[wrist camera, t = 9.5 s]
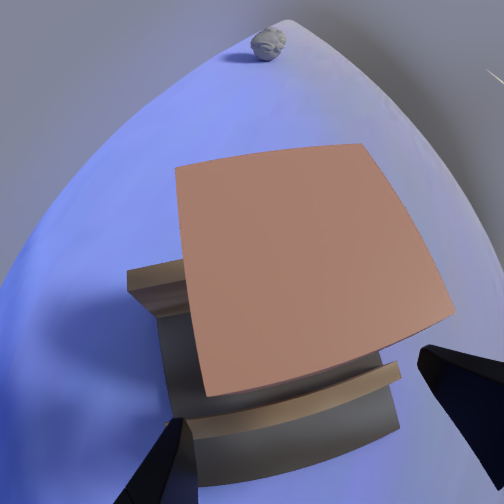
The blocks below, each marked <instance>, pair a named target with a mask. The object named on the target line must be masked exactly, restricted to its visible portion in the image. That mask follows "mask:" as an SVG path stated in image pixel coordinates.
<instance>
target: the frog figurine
mask: <svg viewBox="0 0 504 504" xmlns="http://www.w3.org/2000/svg"><path fill="white" fill-rule="evenodd" d="M286 41H287V39H286V35H285V34H284V33H283V32H282V31H281V30H278V29H277V28H273V27H269V28H266V29H264V30H263V31H261V32H259V33H258V34H257V35H256V36H255V37H254V38H252V41H251V43H250V44H251V48H252V49H253V51H254V54H255V55H256V56H257V57H258V58H259V59H261V60H265V61H269V60H273V59H275V58H276V57H278V55H279V54H280V53H281V49H283V48H284V45H285V43H286Z"/></svg>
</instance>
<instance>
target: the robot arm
mask: <svg viewBox="0 0 504 504" xmlns="http://www.w3.org/2000/svg"><path fill="white" fill-rule="evenodd" d="M417 366H418V369H419V371H420V373H421V374H422V376H423V378H424V379H425V381H426V383H427V384H428V386H429V388H430V390H431V391H432V393H433V395H434V396H435V398H436V399H437V400H438V402H439V403H440V404H441V406H442V407H443V408H444V410H445V411H446V413H447V414H448V415H449V417H450V418H451V420H452V421H453V422H454V424H455V425H456V427H457V428H458V430H459V431H460V432H461V434H462V435H463V437H464V438H465V440H466V441H467V443H468V444H469V446H470V447H471V449H472V450H473V452H474V453H475V455H476V456H477V458H478V459H479V461H480V463H481V464H482V466H483V467H484V469H485V471H486V472H487V474H488V476H489V477H490V479H491V480H492V482H493V484H494V485H495V487H496V489H497V490H498V491H499V490H501V489H502V488H503V487H504V362H500V361H495V360H491V359H486V358H482V357H478V356H474V355H470V354H466V353H462V352H458V351H454V350H450V349H446V348H442V347H438V346H435V345H431V344H429V345H426V346H424V347H422V348H421V350H420V353H419V358H418V362H417ZM113 504H198V473H197V464H196V457H195V450H194V442H193V435H192V431H191V429H190V427H189V426H188V424H187V422H186V420H185V419H184V418H183V417H179V418H172V419H171V420H170V422H169V423H168V425H167V426H166V428H165V429H164V431H163V432H162V434H161V435H160V437H159V438H158V440H157V441H156V443H155V444H154V446H153V447H152V449H151V450H150V452H149V453H148V455H147V456H146V458H145V459H144V461H143V462H142V463H141V465H140V466H139V468H138V469H137V471H136V472H135V474H134V475H133V477H132V478H131V479H130V481H129V482H128V484H127V485H126V487H125V488H124V489H123V491H122V492H121V494H120V495H119V496H118V498H117V499H116V500H115V502H114V503H113Z"/></svg>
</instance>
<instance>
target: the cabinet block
mask: <svg viewBox="0 0 504 504" xmlns="http://www.w3.org/2000/svg"><path fill="white" fill-rule="evenodd" d="M175 175H176V190H177V203H178V215H179V225H180V235H181V244H182V253H183V262H184V270H185V277H186V285H187V292H188V298H189V305H190V311H191V318H192V324H193V330H194V336H195V341H196V347H197V352H198V357H199V362H200V368H201V373H202V377H203V382H204V387H205V391H206V396H207V397H213V396H224V395H234V394H242V393H247V392H251V391H256V390H260V389H264V388H269V387H273V386H277V385H281V384H284V383H288V382H292V381H295V380H299V379H302V378H306V377H309V376H313V375H316V374H319V373H322V372H325V371H328V370H331V369H334V368H336V367H339V366H342V365H345V364H347V363H350V362H353V361H355V360H358V359H360V358H363V357H365V356H368V355H370V354H373V353H375V352H378V351H380V350H382V349H384V348H387V347H389V346H391V345H393V344H396V343H398V342H400V341H402V340H404V339H406V338H408V337H411V336H413V335H415V334H417V333H419V332H421V331H423V330H425V329H427V328H428V327H430V326H432V325H434V324H436V323H438V322H440V321H442V320H443V319H445V318H447V317H449V316H450V315H452V314H454V313H456V312H455V309H454V307H453V304H452V302H451V299H450V297H449V294H448V292H447V289H446V287H445V285H444V282H443V280H442V278H441V276H440V273H439V271H438V269H437V267H436V265H435V263H434V261H433V258H432V256H431V254H430V252H429V250H428V248H427V246H426V245H425V243H424V241H423V239H422V237H421V235H420V233H419V231H418V229H417V228H416V226H415V224H414V222H413V221H412V219H411V217H410V215H409V214H408V212H407V210H406V209H405V207H404V205H403V204H402V202H401V200H400V199H399V197H398V195H397V194H396V192H395V191H394V189H393V188H392V186H391V184H390V183H389V181H388V180H387V178H386V177H385V175H384V174H383V172H382V171H381V170H380V168H379V167H378V165H377V164H376V162H375V161H374V160H373V158H372V157H371V155H370V154H369V153H368V151H367V150H366V149H365V147H364V146H363V145H362V144H342V145H327V146H314V147H303V148H293V149H284V150H275V151H268V152H260V153H253V154H246V155H240V156H234V157H228V158H222V159H216V160H211V161H205V162H200V163H195V164H190V165H186V166H181V167H176V168H175Z"/></svg>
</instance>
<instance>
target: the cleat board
mask: <svg viewBox="0 0 504 504" xmlns="http://www.w3.org/2000/svg"><path fill="white" fill-rule="evenodd" d="M127 291H128V292H129V293H130V294H131V295H132V296H133V297H134V298H135V299H136V300H137V301H138V302H139V303H140V304H141V305H143V306H144V307H145V308H146V309H147V310H148V311H149V312H150V313H151V314H152V315H154V316H155V317H156V318H157V325H158V333H159V341H160V348H161V354H162V361H163V367H164V373H165V378H166V384H167V389H168V394H169V399H170V404H171V409H172V413H173V418H179V417H183V418H184V419H185V420H186V422H187V424H188V426H189V427H190V429H191V431H192V435H193V442H194V450H195V457H196V464H197V473H198V487H208V486H218V485H226V484H233V483H239V482H246V481H251V480H256V479H261V478H266V477H271V476H275V475H279V474H283V473H287V472H291V471H295V470H298V469H302V468H305V467H308V466H312V465H315V464H318V463H321V462H324V461H327V460H329V459H332V458H335V457H338V456H340V455H343V454H346V453H348V452H351V451H353V450H355V449H358V448H360V447H362V446H365V445H367V444H369V443H371V442H374V441H376V440H378V439H380V438H382V437H384V436H386V435H388V434H390V433H392V432H394V431H396V430H398V429H400V426H399V422H398V418H397V414H396V410H395V406H394V402H393V398H392V395H391V391H390V388H389V384H391V383H393V382H395V381H397V380H399V379H401V378H402V377H401V374H400V370H399V367H398V364H397V361H394V362H391V363H388V364H385V365H383V364H382V361H381V358H380V355H379V352H375V353H373V354H370V355H368V356H365V357H363V358H360V359H358V360H355V361H353V362H350V363H347V364H345V365H342V366H339V367H336V368H334V369H331V370H328V371H325V372H322V373H319V374H316V375H313V376H309V377H306V378H302V379H299V380H295V381H292V382H288V383H284V384H281V385H277V386H273V387H269V388H264V389H260V390H256V391H251V392H247V393H242V394H234V395H224V396H213V397H207V396H206V391H205V387H204V382H203V377H202V373H201V368H200V362H199V357H198V352H197V347H196V341H195V336H194V330H193V324H192V318H191V311H190V305H189V298H188V292H187V285H186V277H185V270H184V262H183V259H180V260H175V261H170V262H166V263H161V264H156V265H151V266H147V267H142V268H137V269H133V270H128V271H127ZM169 422H170V421H168V422H165V427H166V426H167V425H168V423H169Z"/></svg>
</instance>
